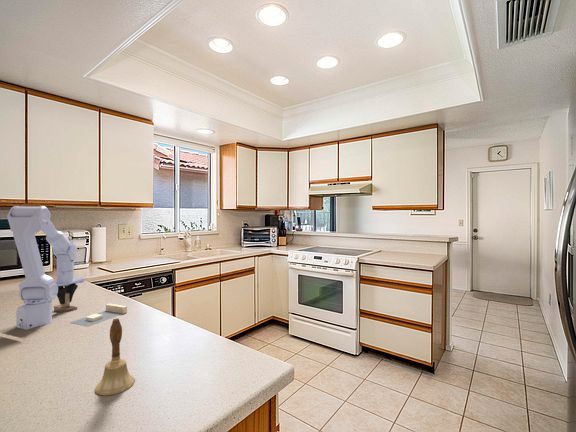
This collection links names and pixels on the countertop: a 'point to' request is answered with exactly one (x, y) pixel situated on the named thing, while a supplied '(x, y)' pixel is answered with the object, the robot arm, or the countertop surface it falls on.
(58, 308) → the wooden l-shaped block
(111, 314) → the board
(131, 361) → the countertop surface
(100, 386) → the hand bell
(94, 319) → the tile
